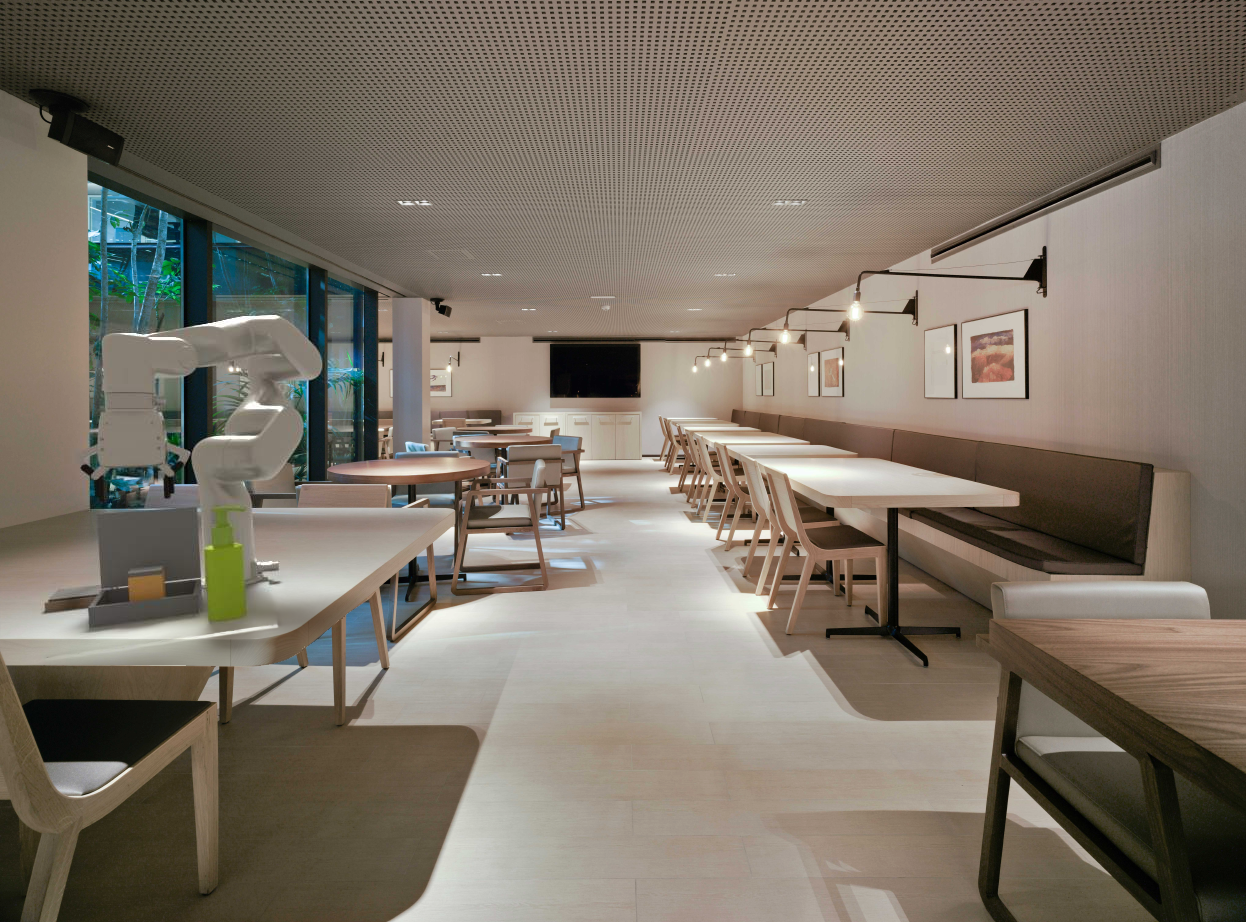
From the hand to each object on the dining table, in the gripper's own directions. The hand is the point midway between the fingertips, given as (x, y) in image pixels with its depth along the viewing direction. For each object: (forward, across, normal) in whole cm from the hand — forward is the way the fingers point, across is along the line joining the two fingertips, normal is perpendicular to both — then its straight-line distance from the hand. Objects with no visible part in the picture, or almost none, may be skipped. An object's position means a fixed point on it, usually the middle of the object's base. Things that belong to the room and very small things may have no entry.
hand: (136, 499), depth 128 cm
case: (+21, -1, -1) cm, 21 cm away
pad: (+21, +12, -16) cm, 29 cm away
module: (+21, -1, 0) cm, 21 cm away
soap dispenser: (+21, -15, +10) cm, 28 cm away
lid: (+10, 0, -9) cm, 13 cm away
